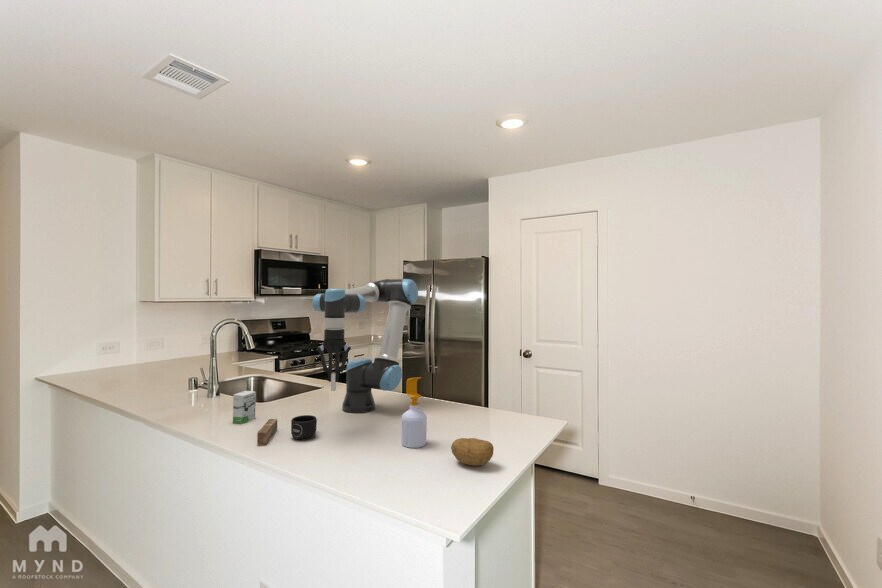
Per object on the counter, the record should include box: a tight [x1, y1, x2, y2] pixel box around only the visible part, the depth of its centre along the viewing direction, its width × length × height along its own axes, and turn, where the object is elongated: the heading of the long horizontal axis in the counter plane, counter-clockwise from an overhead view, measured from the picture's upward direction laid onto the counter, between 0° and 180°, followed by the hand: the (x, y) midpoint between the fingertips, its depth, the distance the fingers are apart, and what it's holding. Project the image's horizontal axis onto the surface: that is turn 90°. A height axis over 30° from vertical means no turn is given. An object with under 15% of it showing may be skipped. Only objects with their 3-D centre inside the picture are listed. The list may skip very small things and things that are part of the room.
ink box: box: [232, 390, 257, 425], centre depth 173 cm, size 9×5×12 cm, turn 168°
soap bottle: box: [401, 376, 428, 449], centre depth 149 cm, size 9×9×25 cm
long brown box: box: [256, 418, 278, 446], centre depth 153 cm, size 3×16×5 cm, turn 9°
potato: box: [450, 437, 494, 467], centre depth 132 cm, size 10×14×8 cm
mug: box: [290, 414, 318, 441], centre depth 155 cm, size 12×9×7 cm
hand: (333, 390), depth 157 cm, fingers closed
